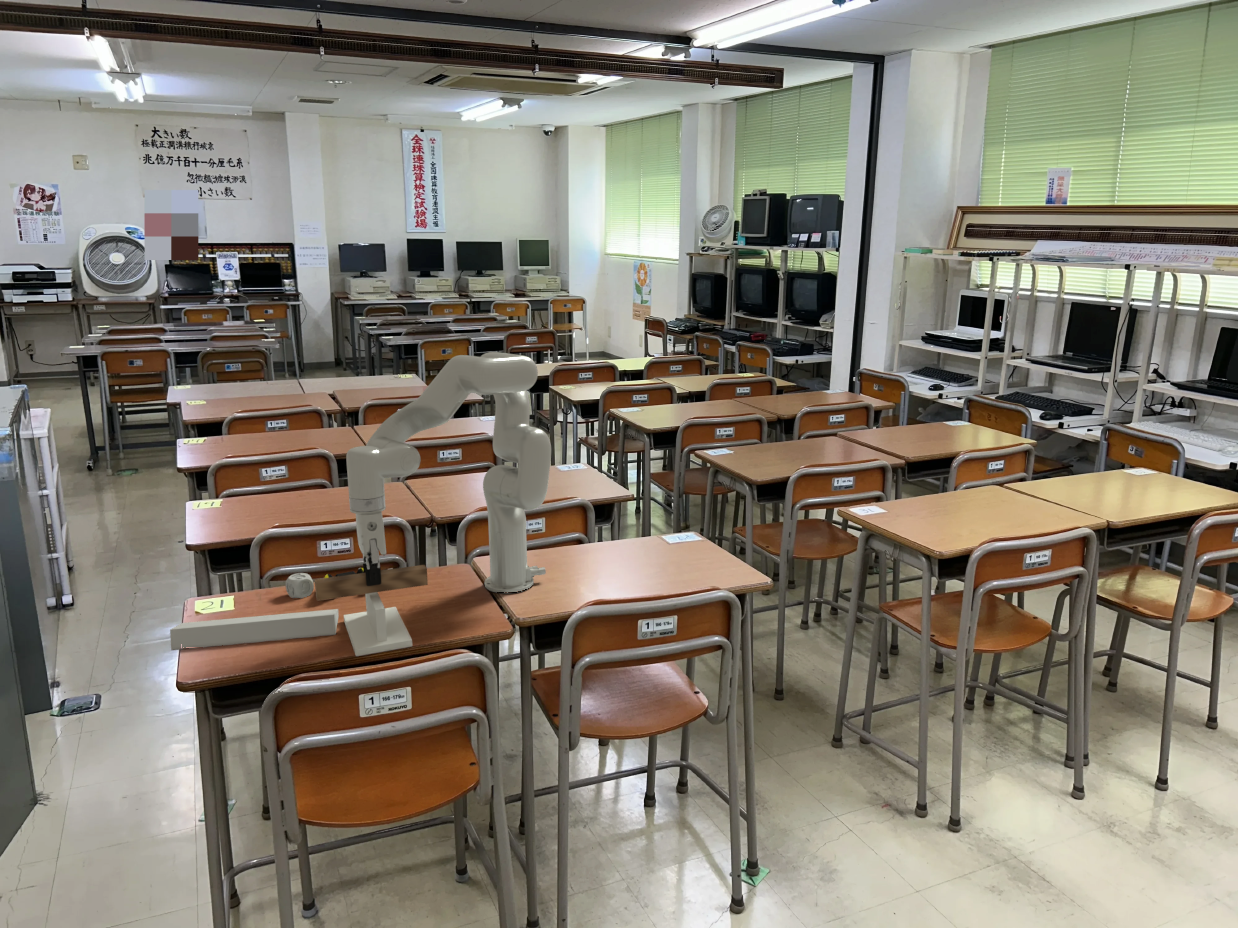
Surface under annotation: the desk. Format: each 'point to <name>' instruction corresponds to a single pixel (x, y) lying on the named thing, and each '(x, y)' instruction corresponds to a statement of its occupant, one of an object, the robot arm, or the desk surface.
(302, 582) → the die
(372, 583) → the robot arm
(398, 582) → the walnut batten
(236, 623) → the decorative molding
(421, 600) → the desk surface
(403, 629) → the stand
